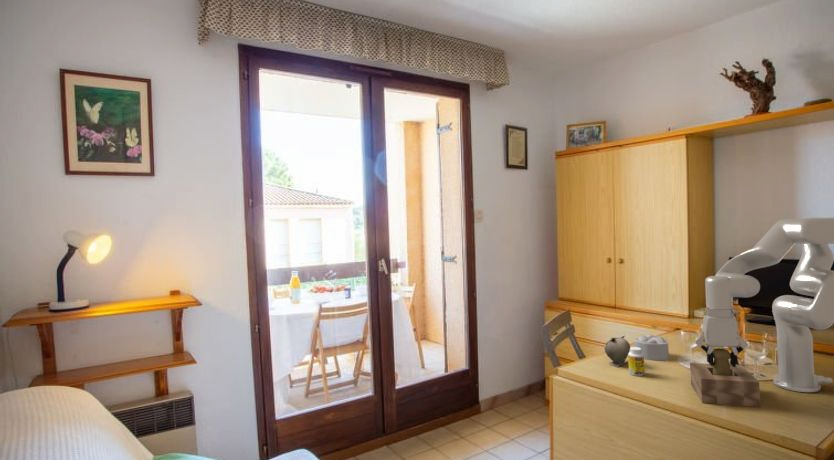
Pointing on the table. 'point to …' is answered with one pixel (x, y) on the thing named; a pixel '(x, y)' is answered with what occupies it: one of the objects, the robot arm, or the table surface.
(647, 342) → the white egg tray
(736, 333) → the robot arm
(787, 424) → the table surface
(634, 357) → the supplement bottle
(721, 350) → the olive pear shape
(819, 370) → the table surface
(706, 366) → the brown square frame
